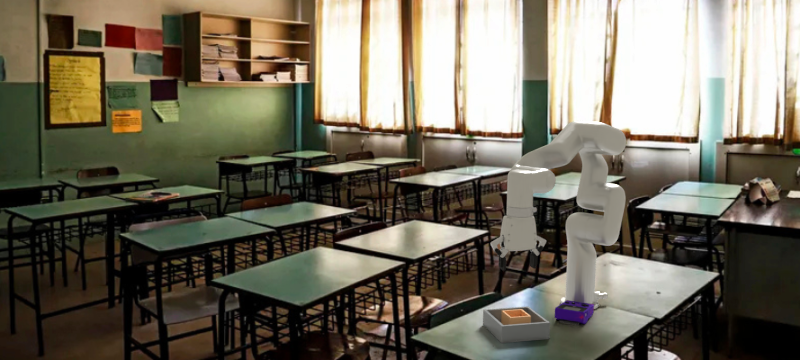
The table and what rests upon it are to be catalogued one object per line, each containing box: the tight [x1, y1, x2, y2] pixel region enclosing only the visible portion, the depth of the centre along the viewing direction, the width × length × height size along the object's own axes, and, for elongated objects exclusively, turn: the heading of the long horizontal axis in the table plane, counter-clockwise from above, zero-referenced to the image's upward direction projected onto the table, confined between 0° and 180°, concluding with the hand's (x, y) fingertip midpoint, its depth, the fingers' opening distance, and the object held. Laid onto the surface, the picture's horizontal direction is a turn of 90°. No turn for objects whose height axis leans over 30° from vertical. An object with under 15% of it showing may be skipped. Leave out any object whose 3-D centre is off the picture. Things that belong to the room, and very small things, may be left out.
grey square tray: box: [482, 305, 551, 344], centre depth 203 cm, size 15×15×5 cm
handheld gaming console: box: [554, 300, 595, 327], centre depth 217 cm, size 9×5×15 cm
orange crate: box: [501, 309, 531, 325], centre depth 203 cm, size 7×7×5 cm
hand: (517, 268), depth 201 cm, fingers open, 9 cm apart
